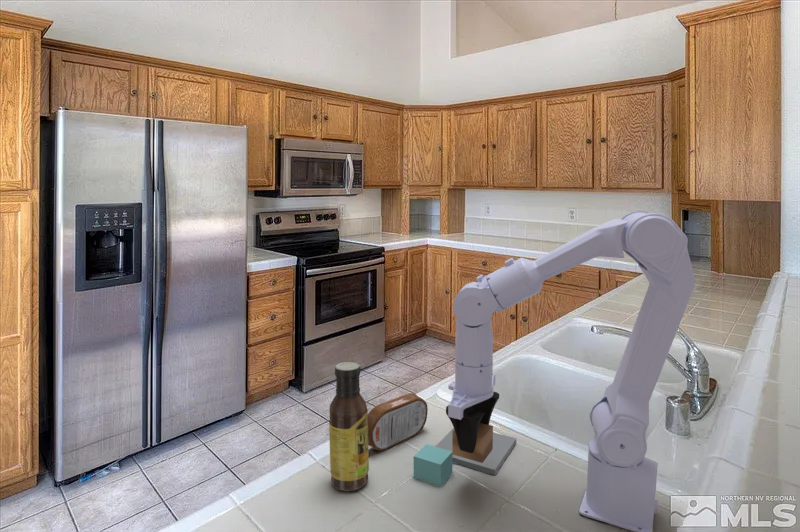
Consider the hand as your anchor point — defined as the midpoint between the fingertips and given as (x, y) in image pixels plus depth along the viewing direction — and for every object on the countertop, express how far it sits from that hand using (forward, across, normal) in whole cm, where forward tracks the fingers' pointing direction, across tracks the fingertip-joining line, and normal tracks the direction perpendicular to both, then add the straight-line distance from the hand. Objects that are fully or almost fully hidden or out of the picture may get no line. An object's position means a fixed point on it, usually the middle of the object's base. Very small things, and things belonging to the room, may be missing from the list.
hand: (473, 443), depth 75 cm
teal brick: (+8, 0, -7) cm, 11 cm away
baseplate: (+8, -11, -4) cm, 14 cm away
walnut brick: (+2, 0, 0) cm, 2 cm away
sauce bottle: (+8, +8, -18) cm, 21 cm away
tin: (+8, -6, -18) cm, 21 cm away
